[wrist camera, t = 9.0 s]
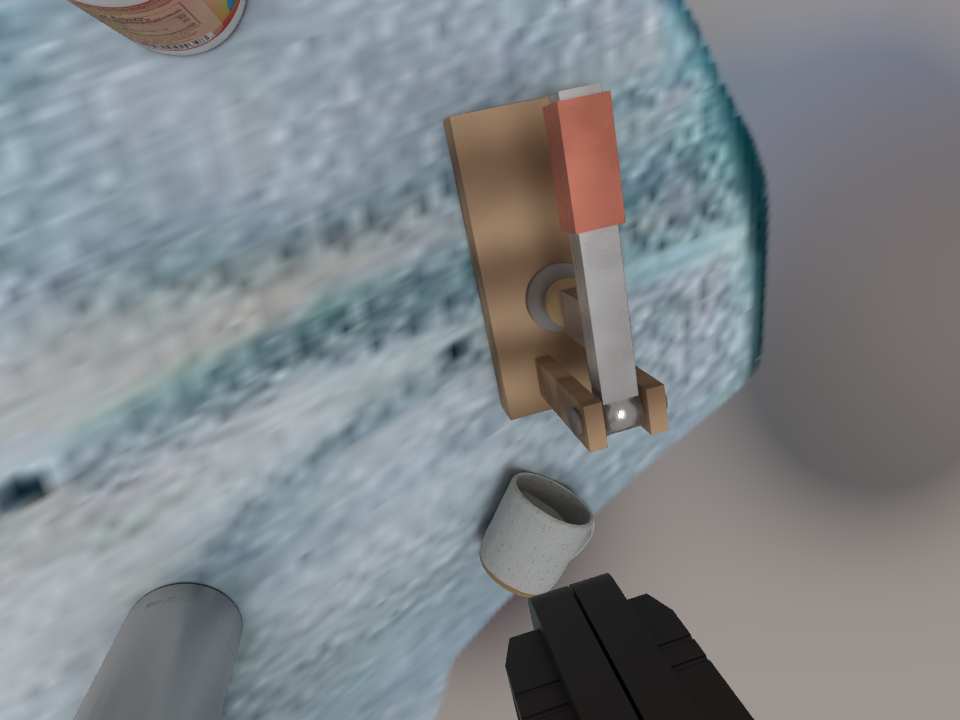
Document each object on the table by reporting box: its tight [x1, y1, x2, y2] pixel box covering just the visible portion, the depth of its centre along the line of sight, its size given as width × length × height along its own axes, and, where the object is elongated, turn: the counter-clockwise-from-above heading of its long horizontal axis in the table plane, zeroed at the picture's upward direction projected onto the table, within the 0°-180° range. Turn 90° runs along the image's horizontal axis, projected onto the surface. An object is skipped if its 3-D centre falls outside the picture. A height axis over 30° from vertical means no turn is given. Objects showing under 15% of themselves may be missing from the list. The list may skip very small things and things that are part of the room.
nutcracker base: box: [443, 86, 669, 453], centre depth 40 cm, size 23×11×14 cm, turn 12°
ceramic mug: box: [480, 472, 595, 597], centre depth 50 cm, size 11×8×8 cm
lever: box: [542, 83, 644, 436], centre depth 37 cm, size 21×3×6 cm, turn 12°
